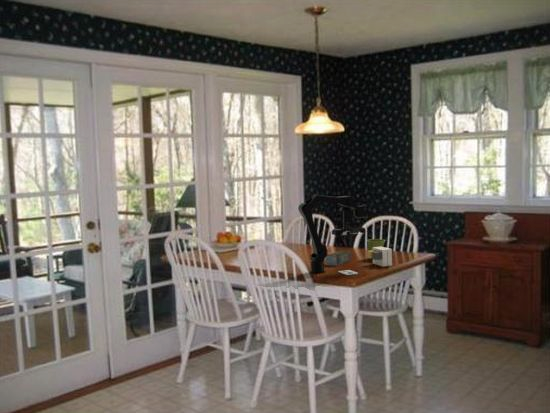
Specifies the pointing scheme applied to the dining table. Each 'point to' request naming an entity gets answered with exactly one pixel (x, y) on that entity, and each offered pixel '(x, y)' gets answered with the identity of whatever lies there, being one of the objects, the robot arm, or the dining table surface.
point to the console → (383, 256)
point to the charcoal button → (376, 255)
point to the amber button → (370, 253)
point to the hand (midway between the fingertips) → (349, 246)
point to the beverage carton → (338, 258)
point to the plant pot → (375, 243)
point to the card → (348, 272)
